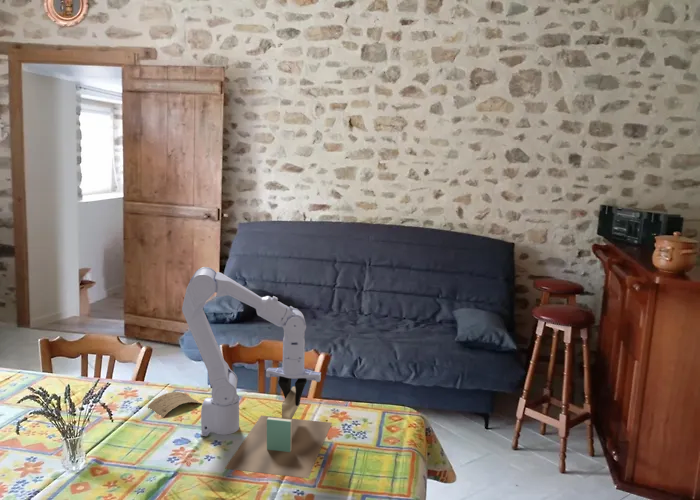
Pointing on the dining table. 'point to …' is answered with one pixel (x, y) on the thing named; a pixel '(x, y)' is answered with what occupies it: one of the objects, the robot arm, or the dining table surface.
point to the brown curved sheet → (169, 402)
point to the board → (292, 463)
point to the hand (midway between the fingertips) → (293, 403)
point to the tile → (279, 434)
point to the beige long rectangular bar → (289, 405)
